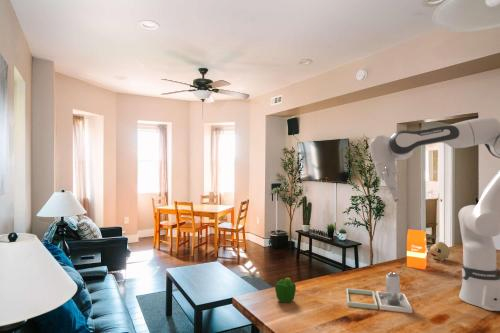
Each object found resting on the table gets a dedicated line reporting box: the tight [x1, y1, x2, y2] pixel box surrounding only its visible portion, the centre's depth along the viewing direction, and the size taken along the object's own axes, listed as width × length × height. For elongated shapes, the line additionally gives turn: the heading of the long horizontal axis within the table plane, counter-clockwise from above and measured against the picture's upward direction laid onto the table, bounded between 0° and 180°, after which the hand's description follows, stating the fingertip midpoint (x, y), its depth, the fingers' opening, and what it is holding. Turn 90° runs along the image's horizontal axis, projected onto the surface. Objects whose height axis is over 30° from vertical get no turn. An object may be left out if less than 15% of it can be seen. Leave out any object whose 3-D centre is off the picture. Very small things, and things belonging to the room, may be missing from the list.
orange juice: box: [406, 228, 428, 270], centre depth 173 cm, size 8×9×20 cm
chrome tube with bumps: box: [385, 271, 401, 306], centre depth 124 cm, size 5×5×12 cm
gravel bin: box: [375, 290, 413, 314], centre depth 124 cm, size 11×14×3 cm
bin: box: [346, 287, 379, 310], centre depth 127 cm, size 11×14×3 cm
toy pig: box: [426, 241, 451, 262], centre depth 183 cm, size 10×12×11 cm
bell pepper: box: [274, 277, 297, 303], centre depth 130 cm, size 8×8×10 cm
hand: (396, 200), depth 135 cm, fingers open, 8 cm apart
